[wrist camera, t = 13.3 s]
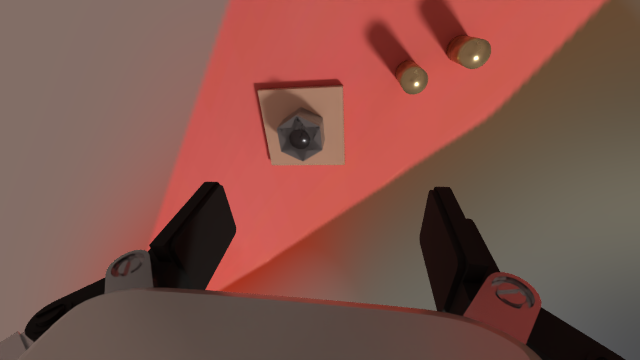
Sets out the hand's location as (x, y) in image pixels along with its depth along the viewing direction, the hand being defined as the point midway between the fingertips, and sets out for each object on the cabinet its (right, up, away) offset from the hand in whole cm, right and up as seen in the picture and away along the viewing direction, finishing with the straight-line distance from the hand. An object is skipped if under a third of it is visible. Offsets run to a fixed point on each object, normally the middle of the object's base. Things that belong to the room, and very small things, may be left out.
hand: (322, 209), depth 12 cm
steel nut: (-2, +8, +21) cm, 22 cm away
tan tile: (-2, +8, +21) cm, 23 cm away
